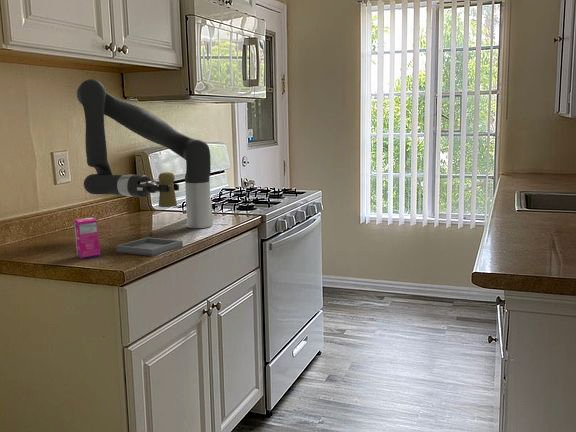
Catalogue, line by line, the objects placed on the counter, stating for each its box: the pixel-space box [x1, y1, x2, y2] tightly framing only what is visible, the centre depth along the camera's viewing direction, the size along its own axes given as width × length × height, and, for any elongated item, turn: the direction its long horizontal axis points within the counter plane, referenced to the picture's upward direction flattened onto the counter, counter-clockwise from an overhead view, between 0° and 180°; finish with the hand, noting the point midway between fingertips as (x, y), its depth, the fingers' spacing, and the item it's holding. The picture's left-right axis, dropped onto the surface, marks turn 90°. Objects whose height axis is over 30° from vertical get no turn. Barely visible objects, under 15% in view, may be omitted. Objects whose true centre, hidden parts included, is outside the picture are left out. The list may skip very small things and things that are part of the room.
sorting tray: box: [115, 237, 184, 257], centre depth 189 cm, size 15×15×2 cm
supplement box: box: [73, 217, 101, 260], centre depth 181 cm, size 6×6×12 cm
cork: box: [158, 171, 178, 208], centre depth 196 cm, size 6×6×11 cm
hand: (173, 188), depth 194 cm, fingers closed on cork, 4 cm apart
